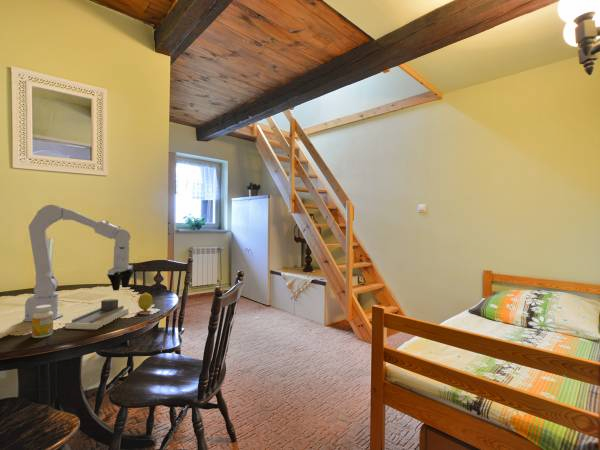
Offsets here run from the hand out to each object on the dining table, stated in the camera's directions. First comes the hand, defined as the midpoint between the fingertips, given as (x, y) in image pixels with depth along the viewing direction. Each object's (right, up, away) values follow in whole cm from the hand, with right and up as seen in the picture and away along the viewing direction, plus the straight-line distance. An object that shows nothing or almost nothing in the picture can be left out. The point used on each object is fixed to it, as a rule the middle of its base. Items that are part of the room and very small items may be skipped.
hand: (120, 288), depth 132 cm
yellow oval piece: (+10, -10, +1) cm, 14 cm away
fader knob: (0, -7, -7) cm, 10 cm away
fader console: (-1, -10, -13) cm, 16 cm away
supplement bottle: (-9, -10, -30) cm, 32 cm away
